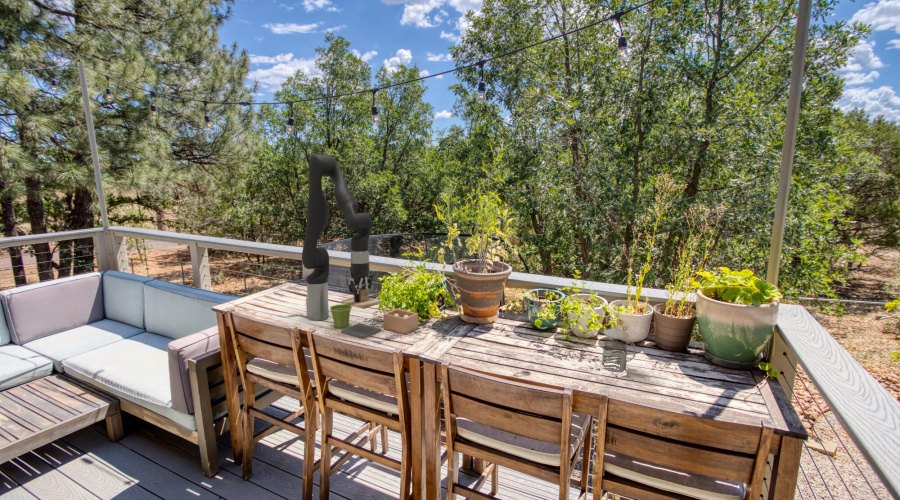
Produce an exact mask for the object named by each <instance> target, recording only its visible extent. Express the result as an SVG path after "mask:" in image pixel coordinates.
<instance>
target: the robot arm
mask: <svg viewBox="0 0 900 500" xmlns="http://www.w3.org/2000/svg"><path fill="white" fill-rule="evenodd" d="M323 177H329V178H330V180H331V181H332V182H333V184H334V193H333V194H334V198H335V202H336V204H337V205H338V206H339V208H340V210H341V211H342V215H343V219H344V222H345V225H346V227H347V229H349V230H350V231H352V232H357V233H356V235H354V236H353V237H351V239H350V272H351V274H352V276H351V278H350V279H346V284H347V286H348V290H349V293H350V294H353V297H354V301H355V302H360V298H359V291H360V288H365V289H368V290H371V289H372V285H373V279H374V275H373V274H369V272H370V254H369V239H370V235H371V232H372V226H373V220H372V217H371V215H370V214H369V213H367V212H361V213H360V212H359V213H358V212H357V211H358V209H359V203H358V202H357V200H356V199H355V197H354V196H353V194H352V192H351V191H350V189H349V186H348V184H347V181H346V179H345V177H344V175H343V173H342V170H341V168H340V165H339V163H338V161H337V159H336V158H335V157H334V156H333V155H328V154H316V153H315V154H312V155H311V156H310V158H309V162H308V199H307V211H306V225H305V226H306V227H305V235H304V241H303V247H302V253H301V262H302V266H303V267H304V268H305V269H307V270H313V271H312V272H311V273H310V274H308V275H307V276H306V295H307V297H306V298H305V302H306V305H305V306H306V318H308V320H310V321H313V322H314V321H316V322H318V321H323V320H327V319H328V318H329V313H330V312H329V310H330V307H329V288H328V287H329V284H328V283H329V282H328V278H329V275H330V255H329V252H328V250H327V248H325V247H322V246H318V241H319V238H320V237H321V236H322V233H323V231H324V230H325V228H326V226H327V225H328V222H329V216H330V215H329V214H330V204H329V202H328V199H327V198H326V196H325V193H324V192H323V191H324V190H323V187H322V184H323V183H322V180H323V179H322V178H323ZM356 212H357V213H356ZM356 289H357V291H356Z"/></svg>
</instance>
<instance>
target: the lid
mask: <svg viewBox="0 0 900 500" xmlns="http://www.w3.org/2000/svg"><path fill="white" fill-rule="evenodd" d="M356 291H357V288H356ZM368 291H369V289H365V288H362V287H361V288H360V291H359V298H360V302H355V301H354V296H353V297H350V298H349V297H348V298H347V299H344V300H341V302H340V304H345V305H349V306H352V308H353V307H354V308H358V309H363V310H365V309H369V308H371V307H374V306H376V305H380V304H381V300H380V299H376V298H370V297H369V296H368V295H369V292H368Z"/></svg>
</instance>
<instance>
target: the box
mask: <svg viewBox="0 0 900 500" xmlns="http://www.w3.org/2000/svg"><path fill="white" fill-rule="evenodd" d="M382 316H383V330H385V331H388V332H389V331H390V332H393V333H397V334H401V335H403V336H405V335H408V334H410V333H412V332H414V331H416V330H418V328H419V313H418V312H413V311H408V310H403V309H399V308H395V309H392V310H389V311H387V312H385V313H383V315H382Z"/></svg>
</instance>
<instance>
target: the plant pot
mask: <svg viewBox="0 0 900 500" xmlns="http://www.w3.org/2000/svg"><path fill="white" fill-rule="evenodd" d="M352 309H353V306H349V305H345V304H341V303H340V304H336V305H332V306H330V307H329V310H330V312H331V316H332V320H333V326H334V328H335V329H345V328H348V327H349V325H350V324H349V323H350V314H351V311H352Z"/></svg>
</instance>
